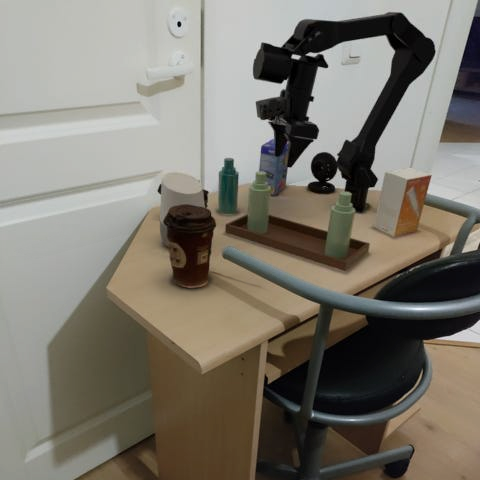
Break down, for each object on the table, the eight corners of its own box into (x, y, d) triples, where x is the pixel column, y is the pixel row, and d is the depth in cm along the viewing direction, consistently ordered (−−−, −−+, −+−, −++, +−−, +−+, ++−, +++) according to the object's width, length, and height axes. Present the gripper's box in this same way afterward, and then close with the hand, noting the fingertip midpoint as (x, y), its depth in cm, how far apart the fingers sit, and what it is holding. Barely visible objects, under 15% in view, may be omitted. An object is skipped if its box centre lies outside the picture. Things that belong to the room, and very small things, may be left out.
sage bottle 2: (329, 247, 100) (338, 187, 93) (350, 252, 98) (361, 192, 91) (320, 255, 96) (329, 194, 89) (342, 261, 94) (353, 199, 88)
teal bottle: (224, 207, 118) (225, 155, 111) (240, 211, 116) (242, 158, 110) (214, 213, 115) (214, 159, 108) (230, 217, 113) (232, 163, 106)
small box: (394, 238, 106) (407, 179, 99) (372, 228, 111) (384, 171, 104) (418, 231, 110) (432, 174, 103) (396, 222, 115) (409, 166, 108)
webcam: (301, 189, 133) (305, 151, 127) (316, 183, 138) (320, 147, 132) (325, 196, 129) (331, 157, 123) (340, 189, 133) (345, 152, 128)
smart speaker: (189, 259, 93) (188, 188, 86) (151, 248, 97) (146, 178, 89) (215, 242, 101) (216, 175, 93) (178, 232, 104) (176, 167, 96)
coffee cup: (173, 295, 82) (170, 222, 75) (160, 273, 88) (156, 204, 81) (221, 286, 85) (222, 216, 78) (205, 266, 91) (205, 199, 84)
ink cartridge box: (276, 196, 127) (281, 138, 119) (256, 192, 128) (259, 136, 121) (287, 185, 135) (292, 131, 127) (268, 182, 136) (272, 128, 128)
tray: (254, 219, 112) (254, 210, 111) (367, 253, 99) (370, 243, 98) (225, 234, 105) (225, 224, 103) (344, 273, 91) (346, 262, 90)
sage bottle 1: (253, 224, 109) (256, 168, 102) (271, 228, 107) (276, 172, 100) (243, 230, 105) (245, 173, 98) (261, 235, 103) (265, 177, 97)
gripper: (252, 75, 108) (239, 147, 116) (276, 87, 93) (259, 168, 101) (298, 84, 111) (283, 153, 119) (328, 97, 96) (308, 175, 104)
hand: (282, 161), depth 111 cm, fingers open, 9 cm apart
